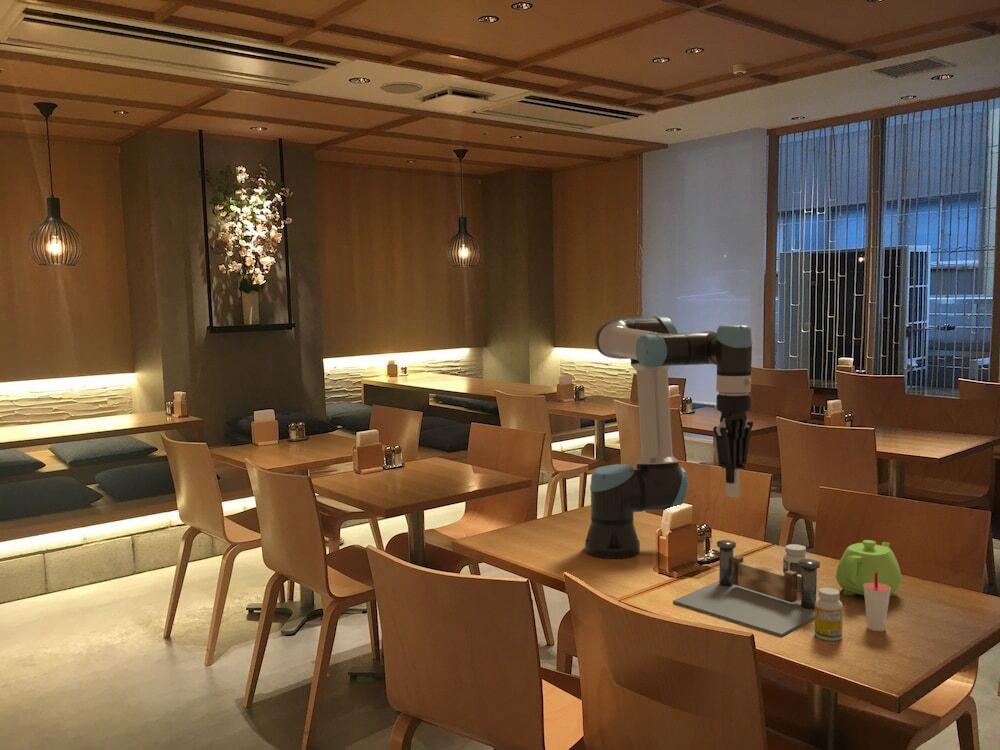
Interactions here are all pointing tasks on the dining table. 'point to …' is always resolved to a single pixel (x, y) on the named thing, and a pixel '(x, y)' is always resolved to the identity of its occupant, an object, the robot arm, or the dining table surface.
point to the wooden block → (764, 580)
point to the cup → (876, 604)
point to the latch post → (808, 582)
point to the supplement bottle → (828, 615)
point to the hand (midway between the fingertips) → (732, 496)
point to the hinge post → (725, 561)
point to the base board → (748, 608)
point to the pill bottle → (793, 558)
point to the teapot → (868, 567)
